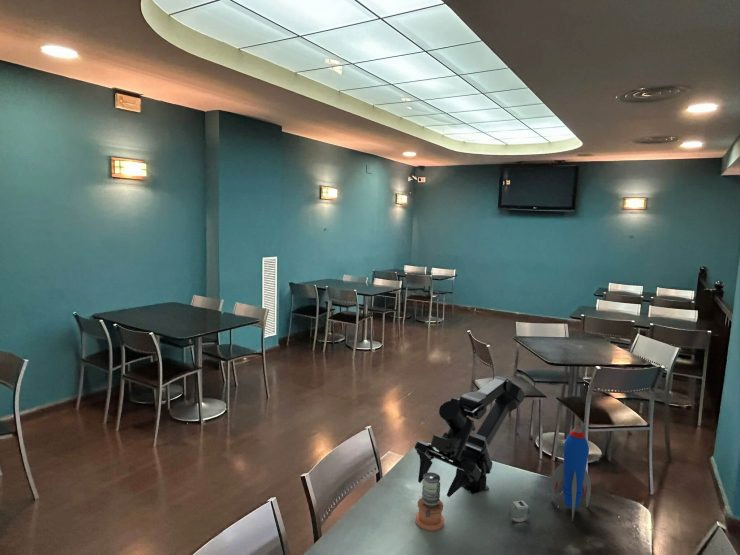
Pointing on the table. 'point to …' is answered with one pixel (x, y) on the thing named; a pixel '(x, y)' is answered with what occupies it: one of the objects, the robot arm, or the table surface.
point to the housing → (430, 517)
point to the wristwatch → (519, 506)
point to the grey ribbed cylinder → (431, 490)
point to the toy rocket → (573, 470)
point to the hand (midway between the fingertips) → (433, 489)
